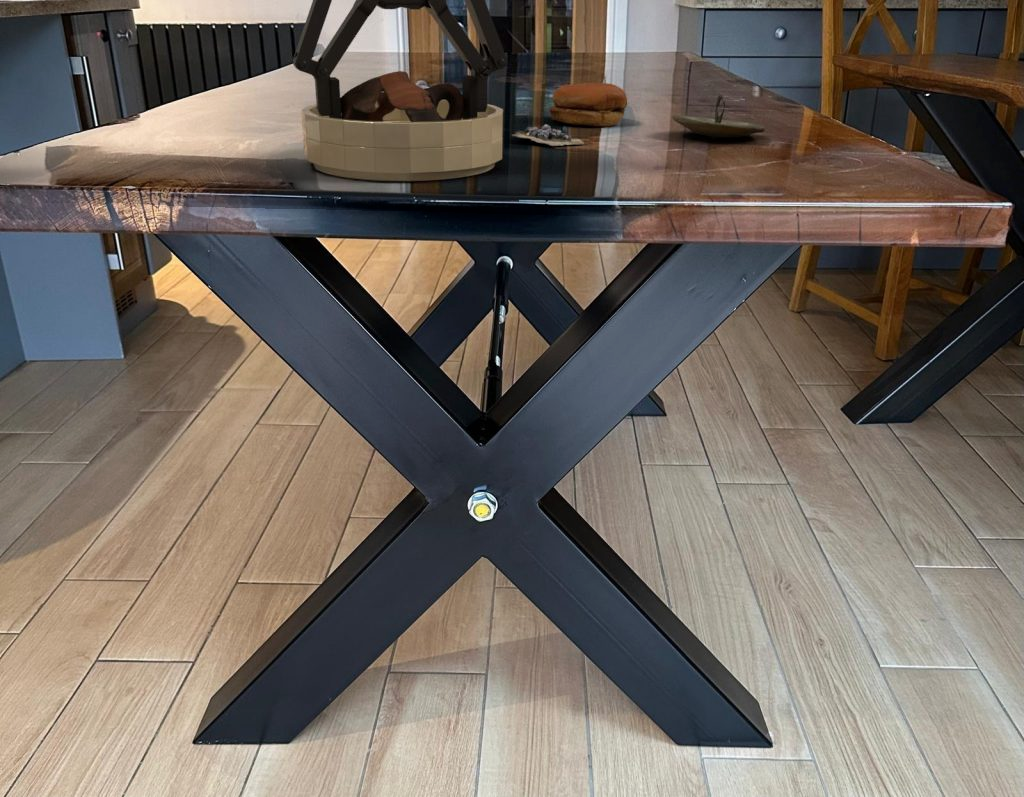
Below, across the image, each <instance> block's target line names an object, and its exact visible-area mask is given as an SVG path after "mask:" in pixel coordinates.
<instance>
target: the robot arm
mask: <svg viewBox="0 0 1024 797" xmlns="http://www.w3.org/2000/svg"><path fill="white" fill-rule="evenodd" d="M332 1H333V0H312V2H311V5H310V8H309V11H308V14H307V16H306V20H305V23H304V26H303V29H302V32H301V35H300V38H299V41H298V44H297V47H296V49H295V53H294V56H293V57H292V64H293V66H294V68H295V69H296V70H298V71H299V72H301V73H304V74H308V75H311V76H312V77H313V79H314V88H315V89H314V90H315V102H316V103H315V104H316V105H317V110H318V112H319V114H320V115H321V116H329V117H330V118H338V119H341V102H340V98H341V88H340V87H341V86H340V79H339V78H337V77H335V76H331V75H332V73H334V71H335V69H336V67H337V66H338V64H339V63H340V61H341V60H342V58H343V56H344V55H345V54H346V52H347V50H348V49H349V47H350V46H351V44H352V42H354V40H355V38H356V37H357V35H358V33H359V32H360V30H361V29H362V27H363V26H364V24H365V23H366V21H367V20H368V18H369V17H370V16H371V15H372V13H373V12H374V11H375V9H376V7H378V8H380V9H382V10H397V9H400V8H403V9H406V10H421V9H422V8H425V11H427V13H428V14H429V15H430V16H431V17H432V18H433V20H434V22H435V23H436V24H437V25H438V27H439V28H440V30H441V32H442V33H443V34H444V35H445V37H446V38H447V40H448V41H449V43H450V44H451V45H452V47H453V49H454V50H455V51H456V53H457V55H458V56H459V57H460V58H461V60H462V62H463V63H464V64H465V66H466V67H467V68H468V70H469V71H470V74H466V75H465V74H463V75H461V76H462V77H461V94H462V95H463V98H464V99H465V103H464V104H465V110H464V114H463V117H462V119H471V118H477V117H478V112H486V109H487V104H488V79H489V76H490V75H491V74H492V73H494V72H496V71H499V70H504V69H505V68H507V66H508V58H507V56H506V53H505V50H504V48H503V45H502V42H501V39H500V37H499V34H498V32H497V28H496V26H495V24H494V21H493V18H492V16H491V13H490V11H489V10H490V9H489V7H488V5H487V2H486V0H463V2H464V4H465V6H466V9H467V11H468V15H469V17H470V19H471V22H472V24H473V26H474V30H475V32H476V35H477V37H478V40H479V42H480V45H481V48H482V50H483V53H484V55H485V57H484V58H483V56H482V54H480V52H479V51H478V49H477V47H475V45H474V43H473V42H472V41H471V39H470V38H469V36H468V35H467V33H466V32H465V31H464V29H463V27H462V26H461V24H460V23H459V22H458V20H457V18H456V17H455V16H454V14H453V13H452V11H451V10H450V8H449V5H448V4H447V2H446V0H355V1H354V2H353V5H352V7H351V8H350V10H349V12H348V14H347V15H346V17H345V18H344V20H343V21H342V22H341V24H340V26H339V27H338V28H337V30H336V32H335V33H334V35H333V36H332V38H331V39H330V41H329V43H328V44H327V45H326V47H325V49H324V50H323V51H322V54H321V55H320V56H319V58H318V60H315V59H313V57H314V55H315V52H316V48H317V45H318V43H319V39H320V37H321V33H322V30H323V28H324V25H325V22H326V19H327V17H328V13H329V11H330V7H331V4H332Z"/></svg>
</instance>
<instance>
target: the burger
mask: <svg viewBox="0 0 1024 797" xmlns="http://www.w3.org/2000/svg"><path fill="white" fill-rule="evenodd" d="M551 98H552V103H553V104H554V105H553V106H552V105H551V106H549V114H550V117H551V120H553V121H556V122H558V123H563V124H568V125H573V126H587V127H588V126H589V127H613V126H616V125H617V124H619V122H620V121H621V120H622V119H623V117H624V115H625V111H626V107H628V97H627V94H626V92H625V91H624V89H623V88H622V87H619V86H618V85H616V84H613V83H606V82H580V83H579V84H573V83H571V84H570V83H569V84H564V85H561V86H559V87H557V88H556V89H555V90H554V92H553V93H552V97H551Z"/></svg>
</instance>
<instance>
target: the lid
mask: <svg viewBox="0 0 1024 797" xmlns="http://www.w3.org/2000/svg"><path fill="white" fill-rule="evenodd" d="M721 101H722V104H723V109H722V111H721V113H720V114H719V109H718V108H719V107H720V105H721ZM725 106H726V100H725V96H724V95H721V94H720V95H718V96H717V98H716V105H715V113H714V114H715V115H714V118H710V117H703V116H696V115H684V114H673V115H672V116H671V118H672V119H673V121H674V122H676V123H678V124H679V125H681V126H683V127H685V128H686V129H688V130H689V131H691V132H692V133H694V134H696V135H701V136H708V137H710V138H712V139H717V138H727V139H731V138H741V137H747V136H750V135H754V134H758V133H764V132H765V130H766V127H765V126H764V125H762V124H759V123H755V122H748V121H739V120H732V119H723V116H724V113H725Z"/></svg>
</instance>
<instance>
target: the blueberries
mask: <svg viewBox="0 0 1024 797" xmlns="http://www.w3.org/2000/svg"><path fill="white" fill-rule="evenodd" d="M511 136H512V137H517V138H520V139H521V138H522V139H530V140H531V141H532V142H533V141H534V142H536V143H539V144H545V145H549V146H550V147H551V146H552V147H555V146H556V147H558V146H562V147H563V146H564V145H565V146H566V145H567V146H570V145H571V146H573V145H585V141H583V140H581V139H580V138H572V136H571V135H570V134H568V133H565V132H564V133H563V131H562V130H561V129H555V128H551V126H550V124H544V125H542V127H541V128H538V127H536V126H527V127H526V128H525V130H524V131H521V130H517V131H515V132H514V134H511Z"/></svg>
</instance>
